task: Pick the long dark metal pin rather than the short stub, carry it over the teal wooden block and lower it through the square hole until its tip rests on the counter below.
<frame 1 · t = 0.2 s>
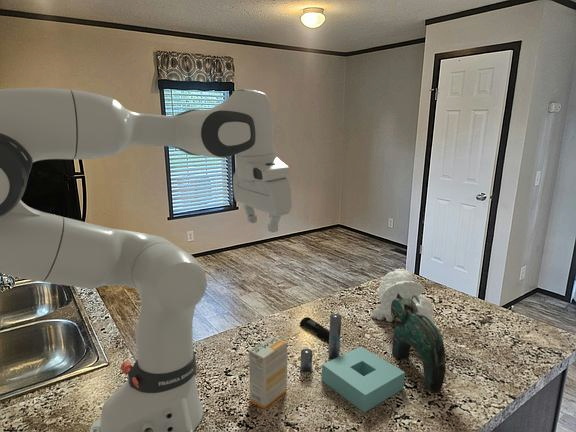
hand: (262, 226, 90), 39 cm above the worktop, tool pointing down, fingers open, 8 cm apart
short pin: (306, 368, 102), on the worktop
hole block: (361, 384, 96), on the worktop
ceramic cat: (415, 370, 102), on the worktop
electric trimmer: (318, 334, 120), on the worktop
long pin: (333, 356, 108), on the worktop
white lumpy sculpture: (399, 319, 130), on the worktop
supplement box: (268, 397, 91), on the worktop
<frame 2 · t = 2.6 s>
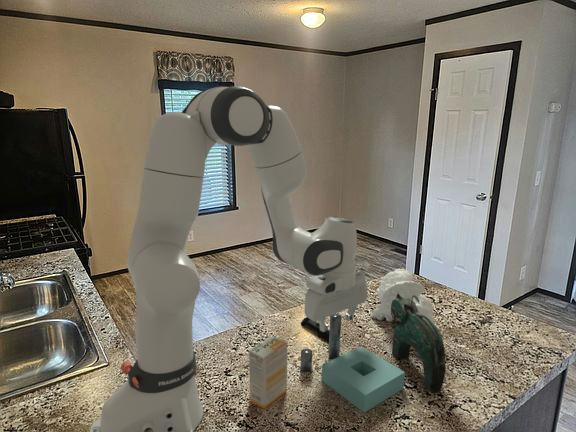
hand: (336, 325, 106), 9 cm above the worktop, tool pointing down, fingers open, 8 cm apart
nothing on the worktop moved.
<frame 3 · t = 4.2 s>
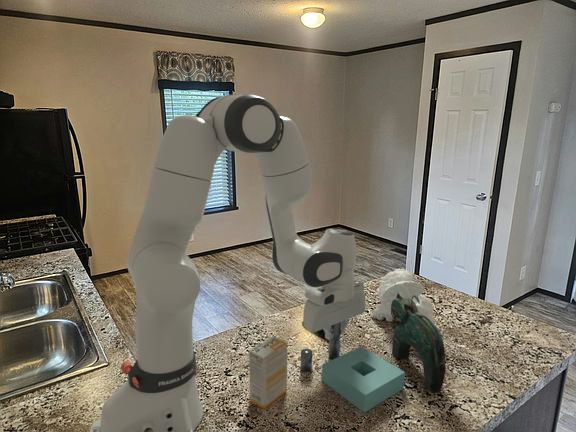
hand: (334, 336, 106), 6 cm above the worktop, tool pointing down, fingers closed on long pin, 3 cm apart
long pin: (334, 356, 108), on the worktop, touching gripper
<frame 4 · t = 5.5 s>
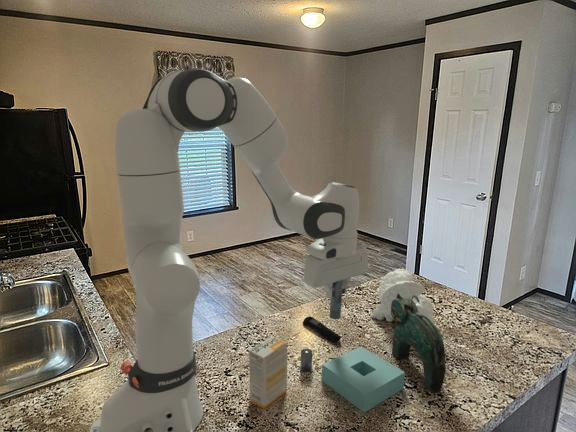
hand: (336, 295, 103), 18 cm above the worktop, tool pointing down, fingers closed on long pin, 3 cm apart
long pin: (335, 316, 105), point 12 cm above the worktop, touching gripper
everything else where it was.
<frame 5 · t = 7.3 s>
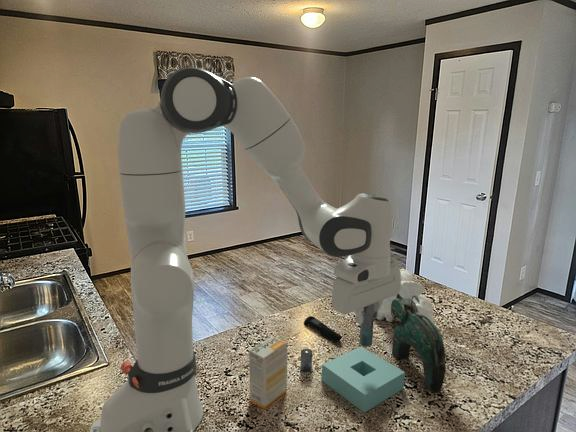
hand: (366, 319, 92), 17 cm above the worktop, tool pointing down, fingers closed on long pin, 3 cm apart
long pin: (365, 343, 93), point 11 cm above the worktop, touching gripper
when the fingers open (7 cm above the worktop, at t = 9.3 s): long pin stays where it is, resting in hole block.
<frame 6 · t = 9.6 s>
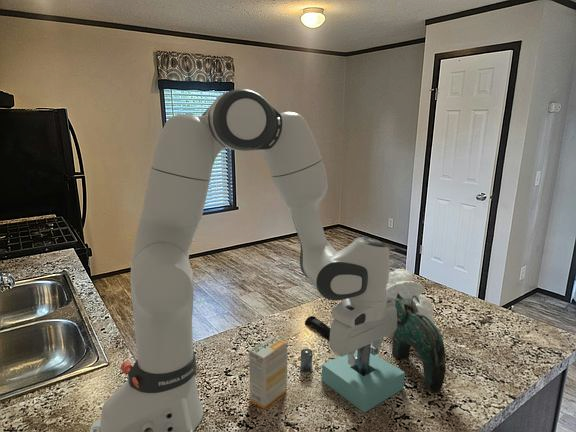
hand: (363, 358, 94), 7 cm above the worktop, tool pointing down, fingers open, 6 cm apart
long pin: (361, 384, 96), resting in hole block
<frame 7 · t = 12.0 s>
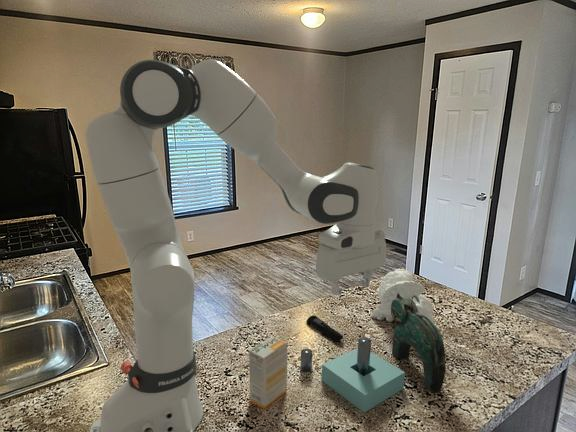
hand: (351, 289, 93), 24 cm above the worktop, tool pointing down, fingers open, 8 cm apart
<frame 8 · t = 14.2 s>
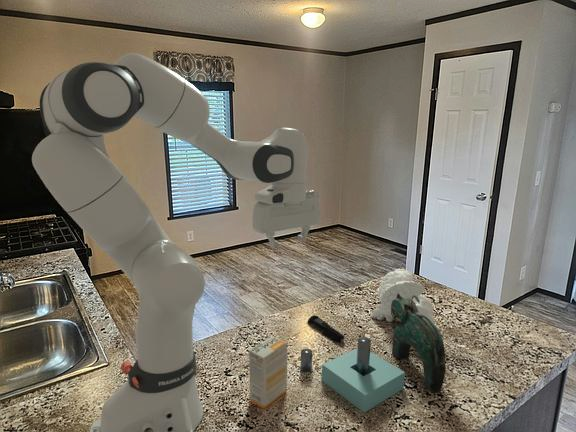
hand: (288, 244, 103), 31 cm above the worktop, tool pointing down, fingers open, 8 cm apart
at the end: long pin 0.1 cm off-centre on the hole block, point 0.0 cm above the hole block's base; long pin tilted 0°; short pin moved 0.0 cm from its start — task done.
